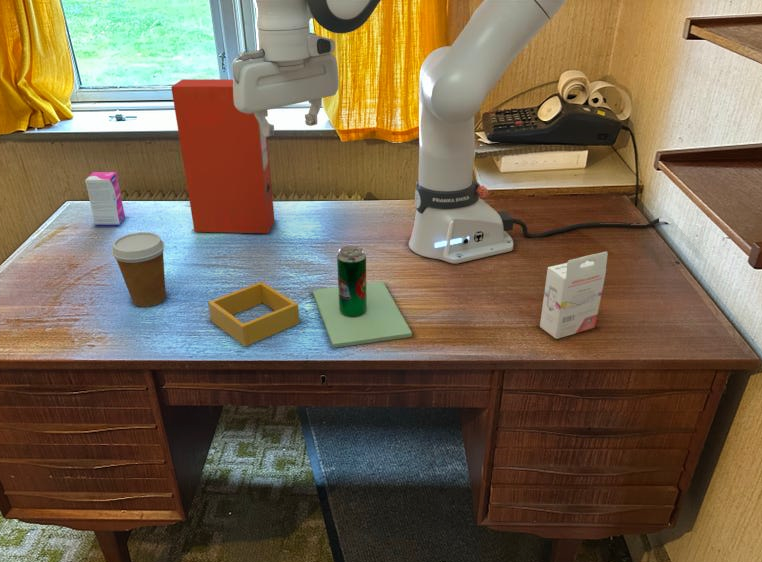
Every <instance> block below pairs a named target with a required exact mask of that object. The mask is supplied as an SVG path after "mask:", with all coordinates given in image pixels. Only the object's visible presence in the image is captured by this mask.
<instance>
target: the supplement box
mask: <svg viewBox="0 0 762 562" xmlns="http://www.w3.org/2000/svg"><path fill="white" fill-rule="evenodd" d="M84 181H85V186H86V191H87V195H88V199H89V203H90V208H91V212H92V217H93V221H94V226H95V227H96V228H101V227H102V228H103V227H105V228H106V227H109V228H113V227H119V226H120V225H121V223H122V222H123V221H124V220H125V218H126V214H125V209H124V205H123V199H122V195H121V194H122V193H121V190H120V185H119V180H118V175H117V172H115V171H105V172H104V171H99V172H98V171H93V172H92V173H91V174H89V176H88V177H86V179H84Z"/></svg>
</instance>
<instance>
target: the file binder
mask: <svg viewBox="0 0 762 562" xmlns="http://www.w3.org/2000/svg"><path fill="white" fill-rule="evenodd" d="M170 89H171V95H172V101H173V106H174V112H175V113H174V114H175V119H176V125H177V132H178V138H179V145H180V150H181V156H182V157H181V158H182V162H183V163H182V164H183V170H184V175H185V181H186V187H187V193H188V201H189V205H190V213H191V218H192V225H193V231H194V232H195V233H196V232H197V233H234V234H235V233H237V234H240V233H241V234H269V232H270V231H271V229H272V227H273V225H274V224H275V210H274V199H273V187H272V177H271V175H272V174H271V167H270V155H269V143H268V137H266V136H264V135H263V134H262V127H261V125H260V123H259V122H258V120H257V119H256V117H255V115H254V113H251V114H246V113H242V112H240V111H238V110H237V108H236V107H235V106H234V99H233V78H231V79H229V78H228V79H227V78H226V79H221V78H218V79H215V78H214V79H213V78H212V79H210V78H209V79H208V78H207V79H206V78H204V79H201V78H200V79H198V78H194V79H193V78H192V79H189V78H188V79H184V78H183V79H181V80H179V81H177V82H176V83H175V84H173V85H172V86H171V87H170Z"/></svg>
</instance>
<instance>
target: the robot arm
mask: <svg viewBox="0 0 762 562" xmlns="http://www.w3.org/2000/svg"><path fill="white" fill-rule="evenodd" d="M381 1H382V0H253V2H254V5H255V8H256V20H255V32H256V44H257V50H252V51H248V52H246V51H245V52H244V51H243V52H240V53H238V54H237V56H236V57H235V58H234V59H233V61H232V63H231V73H232V79H233V99H234V106H235V107H236V108H237V110H238V111H240V112H242V113H246V114H251V113H254V115H255V117H256V119H257V120H258V122H259V123H260V125H261V127H262V134H263V135H264V136H266V137H267V138H268V137H271V136H274V135H275V133H276V132H275V125H274V124H272V123H269V122H268V120H267V118H268V116H269V112H268V111H269V110H274V109H278V108H283V107H288V106H293V105H296V104H301V103H306V102H308V104H310V107H309V110H308V113H306V114H304V119H305V120H304V121H305V125H306V126H309V127H312V126H317V125H318V115H319V112H320V110H321V108H322V105H323V100H322V99H323V98H328V97H332V96H335V95H336V94H337V92H338V90H339V86H340V84H339V83H340V81H339V79H340V77H339V68H338V67H339V66H338V61H337V58H336V57H335V55H334V54H333V53H335V51H336V41H335V40H334V39H332V38H329V37H325V36H321V35H317V33H313V32H311V30H310V29H311V28H310V20H311V19H314V21H315V22H316V23H317V24H318V25H319V26H320V27H322V28H323V29H325V30H326V31H327V32H331V33H334V34H349V33H351V32H354V31H356V30H358V29H359V28H361V27H362V26H363V25H365V24H366V22H368V20H369V18H370V17H371V15H372V14H373V13H374V11H375V9H376V8H377V6H378V5H379V3H380V2H381ZM567 1H568V0H483V1H482V2H481V3H480V5H478V7H477V8H476V9H475V10H474V12H473V13H472V15H471V17H470V19H468V21H467V23H466V24H465V26H464V28H463V29H462V31H460V33H459V34H458V36H457V37H456V39H455V41H454V42H453V43H452V45H447V46H446V45H445V46H442V47H438V48H436V49H434V50H432V51H431V52H430V53H429V54H428V55H427V56H426V58H424V61H423V63H422V64H421V67H420V71H419V84H418V86H419V87H418V89H419V90H418V108H419V109H418V118H419V119H418V121H419V122H418V125H419V126H418V127H419V128H418V129H419V131H418V133H419V134H418V135H419V136H418V137H419V144H418V145H419V146H418V147H419V149H418V150H419V151H418V177H417V178H418V179H417V181H416V182H415V191H414V205H415V206H414V207H415V209H416V211H415V217H414V222H413V228H412V231H411V236H410V238H409V241H408V247H409V249H410V250H411V251H412V252H413V253H415V254H417V255H419V256H422V257H425V258H428V259H435V260H440V261H444V262H446V263H449V264H454V265H455V264H460V263H465V262H469V261H473V260H478V259H483V258H487V257H491V256H495V255H501V254H504V253H509V252H512V251H513V250H514V240H513V238H512V237H511V235H510V234H509V233H508V232H509V231H513V230H514V225H515V224H516V225H519V226H520V227H521V229H522V234H523V235H524V237H526V238H528V239H534V238H535V239H536V238H544V237H548V236H551V235H556V234H561V233H565V232H569V231H573V230H577V229H583V228H593V227H594V228H595V227H618V228H619V227H622V228H633V229H634V228H636V229H638V228H639V229H640V228H641V229H642V228H643V229H644V228H649V227H654V226H655V225H657V224H660V222H659V218H660V217H658V218H656V219H653V220H651V221H648V222H647V223H649V224H647V225H631V224H633V223H634V222H625V221H591V222H581V223H574V224H571V225H567V226H564V227H560V228H555V229H550V230H546V231H543V232H540V233H531V232H529V231H528V226H527V224H526V222H524V221H522V220H520V219H518V218H513V217H512V215H510V213H509V212H508V211H507V210H502V211H496V209H494V208H493V207H492V206H491V205H489V204H488V203H487V202H485V200H483V199H485V198H486V197H487V196H488V195H489V193H490V191H489V189H488V188H486V187H485V186H484V185H481V184H480V183H479V182H477V181H475V180H474V179H473V177H474V176H473V175H474V161H475V150H476V137H475V136H476V135H475V116H476V115H477V113H478V112H479V110H480V108H481V107H482V106H483V103H484V102H485V100H486V99H487V97H488V96H489V95H490V93H491V92H492V91H493V89H494V88H495V86H497V84H498V83H499V82H500V80H501V78H502V77H503V76H504V74H505V73H506V71H507V70H508V69H509V67H510V66H511V64H513V62H514V61H515V59H516V58H517V57H518V55H520V53H521V52H522V51H523V50H524V49H525V47H526V46H528V44H529V43H530V42H531V41H532V40H533V39H534V38H535V37H536V36H537V35H538V34H539V32H541V30H542V29H543V28H544V27H545V26H547V24H548V23H549V22H550V21H551V20H552V19H553V18H554V17H555V16H556V14H557V13H558V12H559V11H560V10H561V8H562V7H563V6H564V5H565V4H566V3H567ZM266 117H267V118H266ZM481 198H482V199H481ZM600 223H603V224H600ZM604 223H622V224H604ZM623 223H624V224H623ZM625 223H626V224H625ZM628 223H629V224H628ZM635 223H636V224H640V223H641V222H635Z"/></svg>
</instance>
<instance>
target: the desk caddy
mask: <svg viewBox="0 0 762 562" xmlns="http://www.w3.org/2000/svg"><path fill="white" fill-rule="evenodd" d="M261 304H264V305H266V306H267V307H268V308H270V309H271V310H273V311H272V312H269V313H266V314H264V315H261V316H259V317H257V318H255V319H252V320H249V321H247V322H244V323H243V322H242V321H241V320H239V319H238V318H236V317H235V316H234V315H237V314H238V313H241V312H244V311H246V310H248V309H251V308H254V307H257V306H259V305H261ZM207 306H208V312H209V317H210V322H212V324H214V325H216V326H217V327H218V328H219V329H220V330H222V331H223V332H225V333H226V334H228V335H229V336H230V337H231V338H232V339H234V340H235V341H236V342H238V343H239V344H241V345H242V346H243V347H245V348H246V347H248V346H250V345H252V344H255V343H257V342H260V341H262V340H264V339H267V338H269V337H271V336H273V335H276V334H278V333H281V332H283V331H285V330H287V329H290V328H292V327H294V326H297V325H299V324H300V323H301V322H300V312H299V310H300V309H299V303H297V302H295V301H294V300H292V299H291V298H289V297H288V296H286V295H284V294H282V293H281V292H279V291H278V290H276V289H275V288H273V287H271V286H270V285H268V284H266V283H265V282H263V281H260V282H257V283H255V284H252V285H249V286H247V287H244V288H241V289H239V290H236V291H232V292H230V293H228V294H225V295H223V296H220V297H217V298H215V299H212V300H209V301H207Z"/></svg>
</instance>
